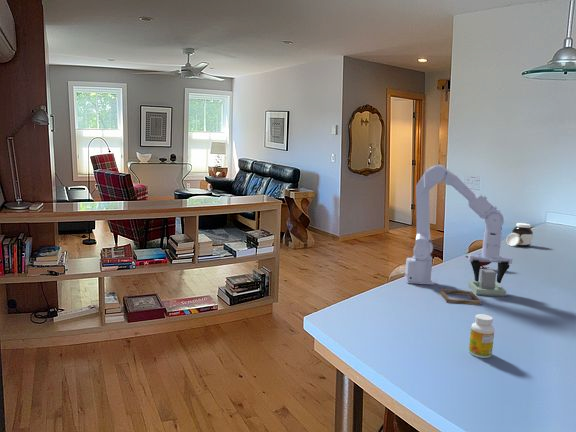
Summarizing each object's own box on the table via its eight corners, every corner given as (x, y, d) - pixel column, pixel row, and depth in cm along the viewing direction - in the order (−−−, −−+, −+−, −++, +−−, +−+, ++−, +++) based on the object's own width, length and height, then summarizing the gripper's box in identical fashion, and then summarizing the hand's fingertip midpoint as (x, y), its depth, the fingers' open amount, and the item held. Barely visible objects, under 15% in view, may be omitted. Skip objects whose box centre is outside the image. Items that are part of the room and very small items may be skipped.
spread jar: (532, 245, 254) (534, 224, 252) (529, 249, 244) (532, 227, 243) (507, 242, 260) (510, 221, 258) (504, 245, 251) (507, 224, 249)
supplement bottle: (464, 348, 121) (468, 312, 120) (484, 349, 122) (489, 312, 120) (474, 358, 116) (478, 320, 114) (495, 358, 116) (500, 321, 115)
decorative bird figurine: (499, 269, 202) (501, 246, 201) (466, 271, 196) (468, 248, 194) (493, 267, 205) (496, 244, 203) (461, 269, 198) (463, 246, 197)
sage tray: (476, 294, 166) (476, 289, 165) (468, 286, 176) (468, 280, 175) (505, 296, 165) (506, 291, 165) (496, 288, 175) (496, 282, 174)
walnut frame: (446, 302, 157) (446, 299, 156) (439, 291, 167) (439, 289, 167) (480, 304, 156) (481, 301, 155) (471, 294, 166) (471, 291, 166)
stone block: (482, 291, 168) (484, 272, 167) (479, 287, 172) (481, 269, 171) (494, 292, 168) (496, 273, 167) (490, 288, 172) (492, 270, 171)
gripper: (473, 245, 164) (469, 283, 166) (517, 248, 163) (512, 286, 165) (468, 241, 171) (464, 277, 173) (509, 243, 170) (505, 280, 172)
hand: (487, 281), depth 170 cm, fingers open, 7 cm apart
